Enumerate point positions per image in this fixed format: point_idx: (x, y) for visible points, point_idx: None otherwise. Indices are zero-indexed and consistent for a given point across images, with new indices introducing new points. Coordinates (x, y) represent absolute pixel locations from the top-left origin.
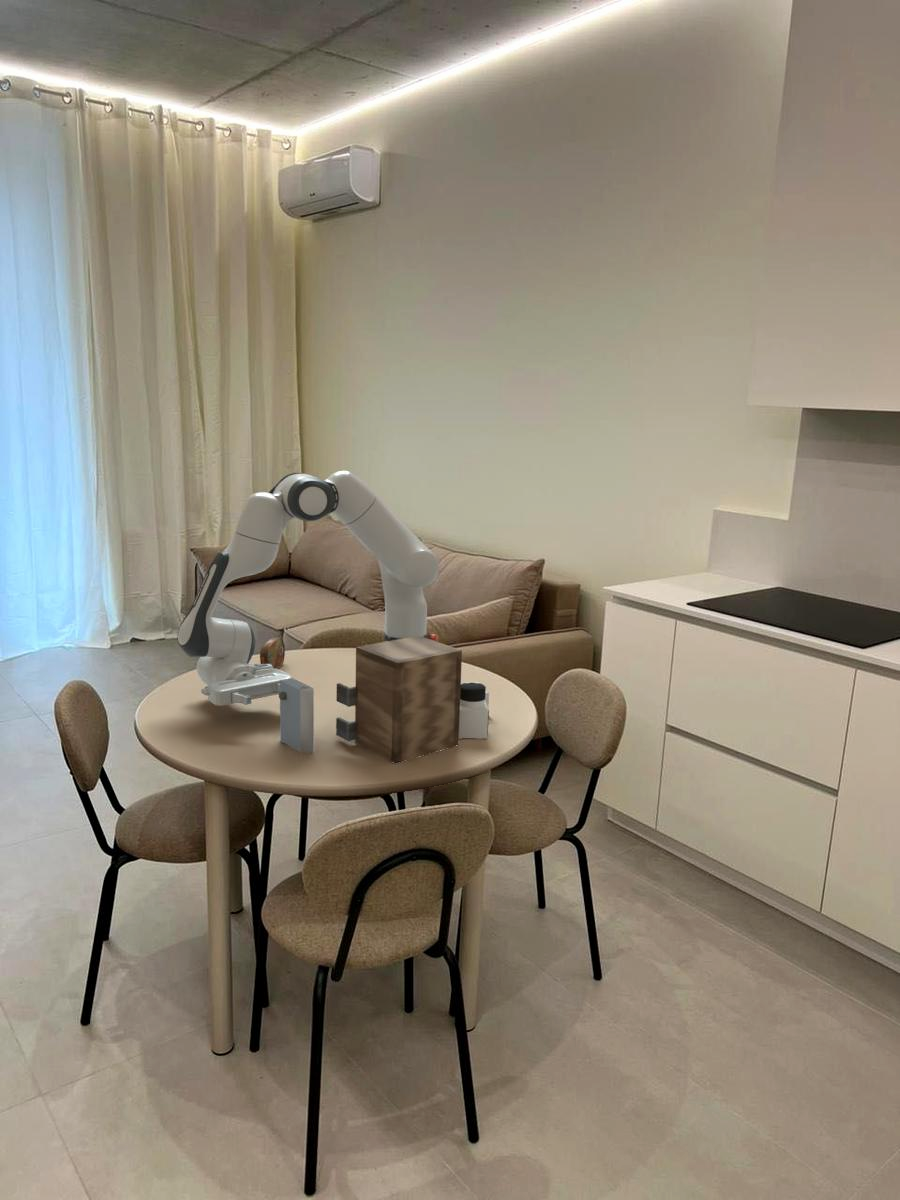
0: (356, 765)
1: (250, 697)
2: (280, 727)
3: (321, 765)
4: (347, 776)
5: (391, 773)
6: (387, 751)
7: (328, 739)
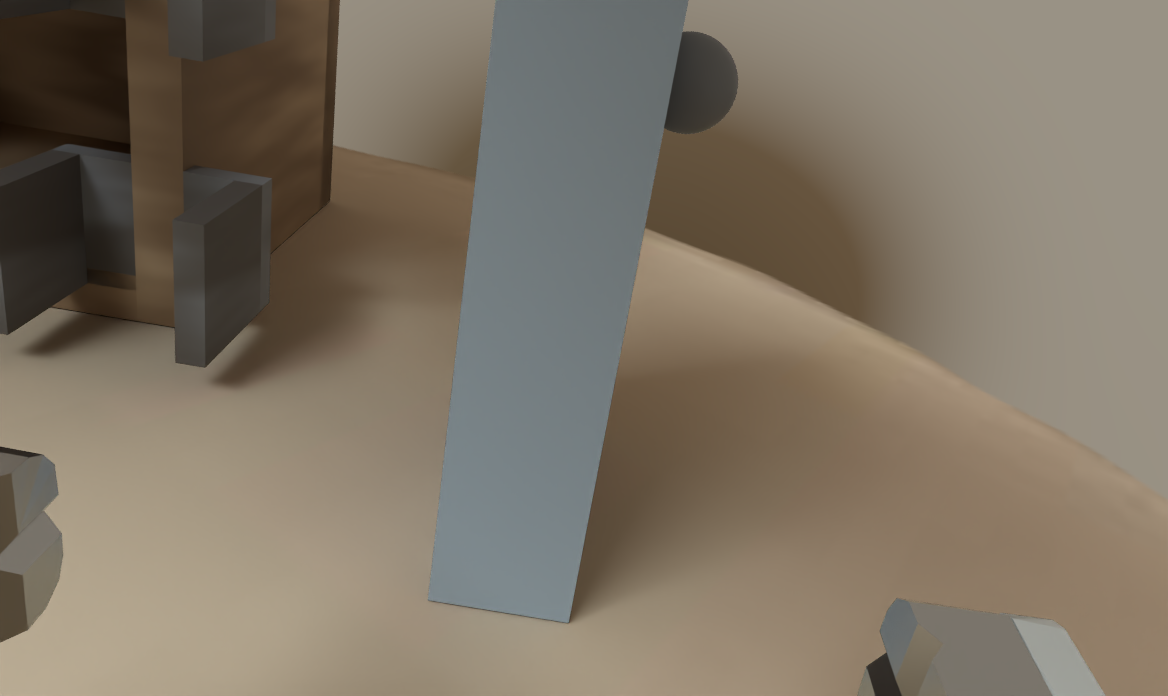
0: None
1: (913, 603)
2: (591, 499)
3: None
4: None
5: (424, 195)
6: (311, 177)
7: (244, 427)
